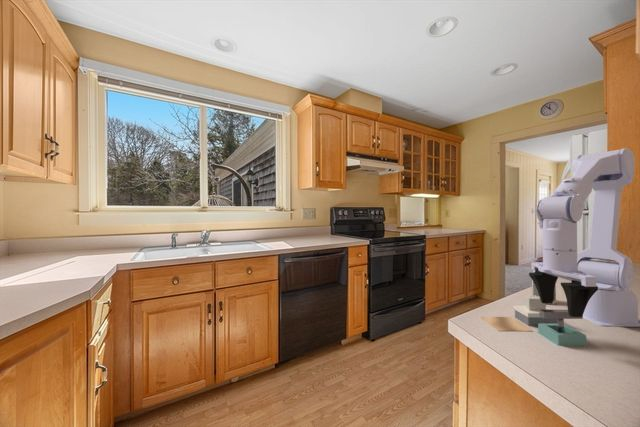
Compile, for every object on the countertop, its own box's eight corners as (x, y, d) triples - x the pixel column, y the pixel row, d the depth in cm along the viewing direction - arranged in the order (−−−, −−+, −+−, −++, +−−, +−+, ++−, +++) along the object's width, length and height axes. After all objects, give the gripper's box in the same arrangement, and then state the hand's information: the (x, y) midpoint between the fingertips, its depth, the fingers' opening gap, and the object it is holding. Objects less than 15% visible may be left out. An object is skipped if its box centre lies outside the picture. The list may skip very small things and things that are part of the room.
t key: (575, 336, 59) (575, 308, 59) (584, 341, 56) (584, 312, 56) (538, 336, 59) (538, 308, 59) (546, 340, 57) (545, 312, 57)
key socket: (563, 333, 61) (563, 323, 61) (588, 347, 55) (588, 335, 55) (536, 333, 61) (536, 323, 61) (558, 346, 55) (557, 335, 55)
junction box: (542, 318, 69) (542, 309, 69) (558, 326, 64) (557, 317, 64) (515, 318, 70) (514, 309, 70) (528, 326, 65) (528, 316, 65)
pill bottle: (560, 305, 78) (560, 272, 78) (539, 304, 79) (538, 272, 79) (548, 298, 83) (547, 268, 83) (528, 297, 84) (527, 268, 84)
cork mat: (511, 318, 70) (511, 316, 70) (533, 332, 62) (533, 330, 62) (480, 318, 70) (480, 316, 70) (498, 332, 62) (498, 330, 62)
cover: (542, 309, 69) (542, 294, 69) (559, 317, 64) (559, 301, 64) (513, 308, 70) (513, 294, 70) (528, 317, 64) (527, 301, 64)
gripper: (518, 245, 65) (519, 298, 65) (568, 255, 51) (570, 323, 51) (547, 244, 65) (548, 298, 65) (607, 254, 50) (608, 323, 50)
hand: (560, 309), depth 58 cm, fingers open, 7 cm apart
